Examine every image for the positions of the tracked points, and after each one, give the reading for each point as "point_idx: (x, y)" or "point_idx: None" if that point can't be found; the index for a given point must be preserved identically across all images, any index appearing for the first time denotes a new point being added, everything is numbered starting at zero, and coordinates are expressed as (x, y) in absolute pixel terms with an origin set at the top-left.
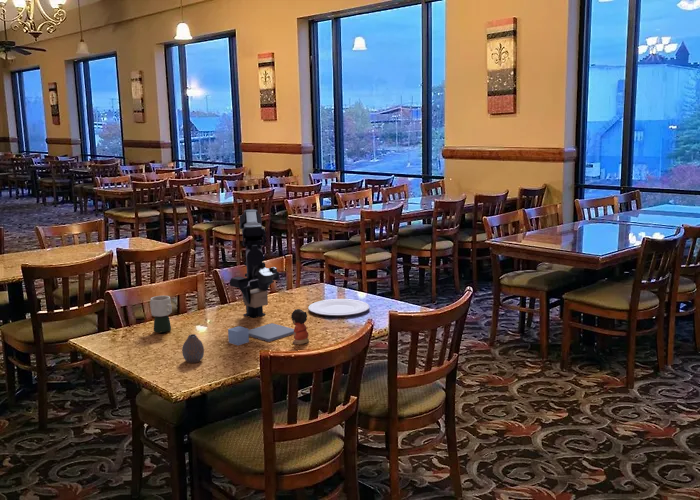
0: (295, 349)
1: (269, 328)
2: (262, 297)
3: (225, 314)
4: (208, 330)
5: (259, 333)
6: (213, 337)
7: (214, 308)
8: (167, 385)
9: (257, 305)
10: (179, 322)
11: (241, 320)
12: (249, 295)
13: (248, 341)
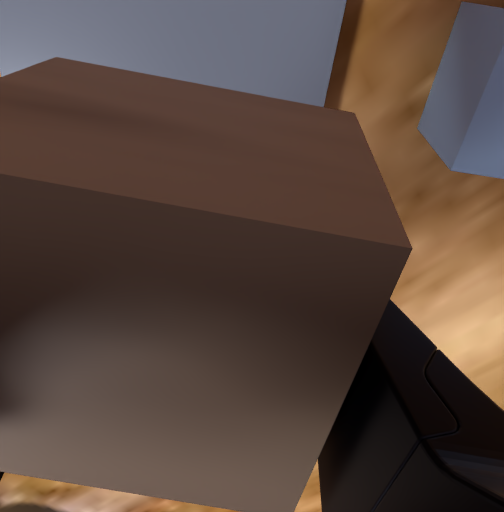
0: None
1: (120, 64)
2: (121, 126)
3: None
4: None
5: (279, 39)
6: (444, 296)
7: (76, 504)
8: None
9: (295, 108)
10: (300, 507)
11: None
12: (398, 343)
13: (467, 2)
